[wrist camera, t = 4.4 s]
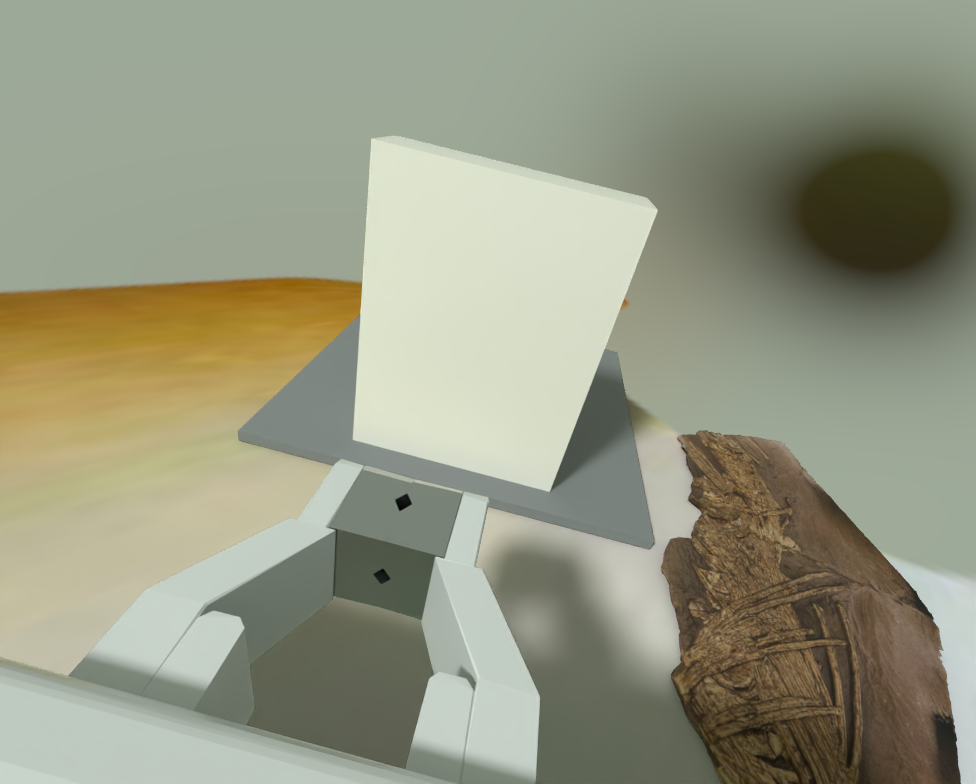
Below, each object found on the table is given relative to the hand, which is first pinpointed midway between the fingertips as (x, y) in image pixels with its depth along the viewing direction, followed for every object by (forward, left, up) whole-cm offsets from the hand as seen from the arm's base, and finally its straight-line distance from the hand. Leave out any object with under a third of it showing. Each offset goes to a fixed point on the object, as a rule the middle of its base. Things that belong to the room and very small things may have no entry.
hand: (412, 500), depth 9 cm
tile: (0, -10, -7) cm, 12 cm away
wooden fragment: (-15, -7, -8) cm, 18 cm away
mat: (0, -17, -7) cm, 18 cm away
